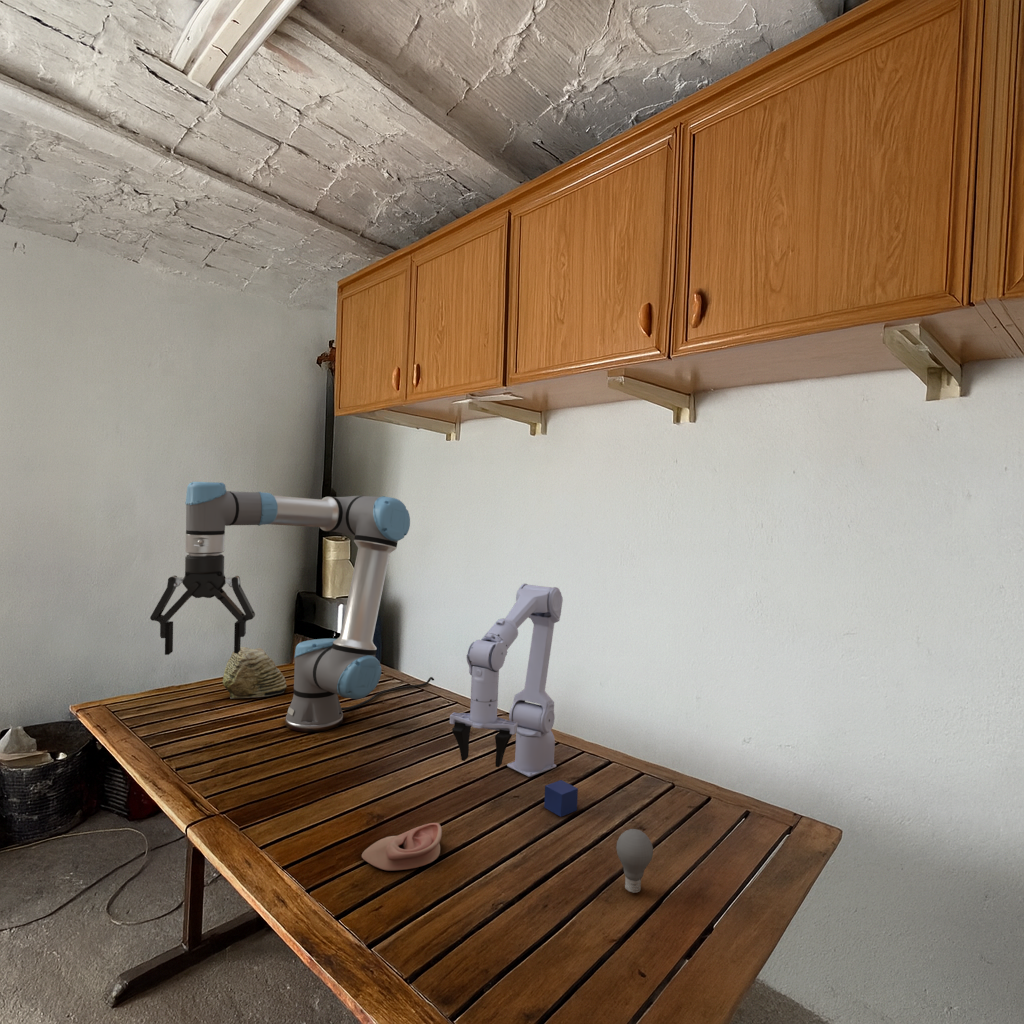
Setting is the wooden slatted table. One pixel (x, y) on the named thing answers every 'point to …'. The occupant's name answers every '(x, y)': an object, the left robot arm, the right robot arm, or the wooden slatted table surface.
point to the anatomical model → (406, 849)
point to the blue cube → (561, 798)
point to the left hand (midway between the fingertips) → (203, 652)
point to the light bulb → (634, 857)
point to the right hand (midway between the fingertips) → (481, 762)
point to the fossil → (252, 675)
